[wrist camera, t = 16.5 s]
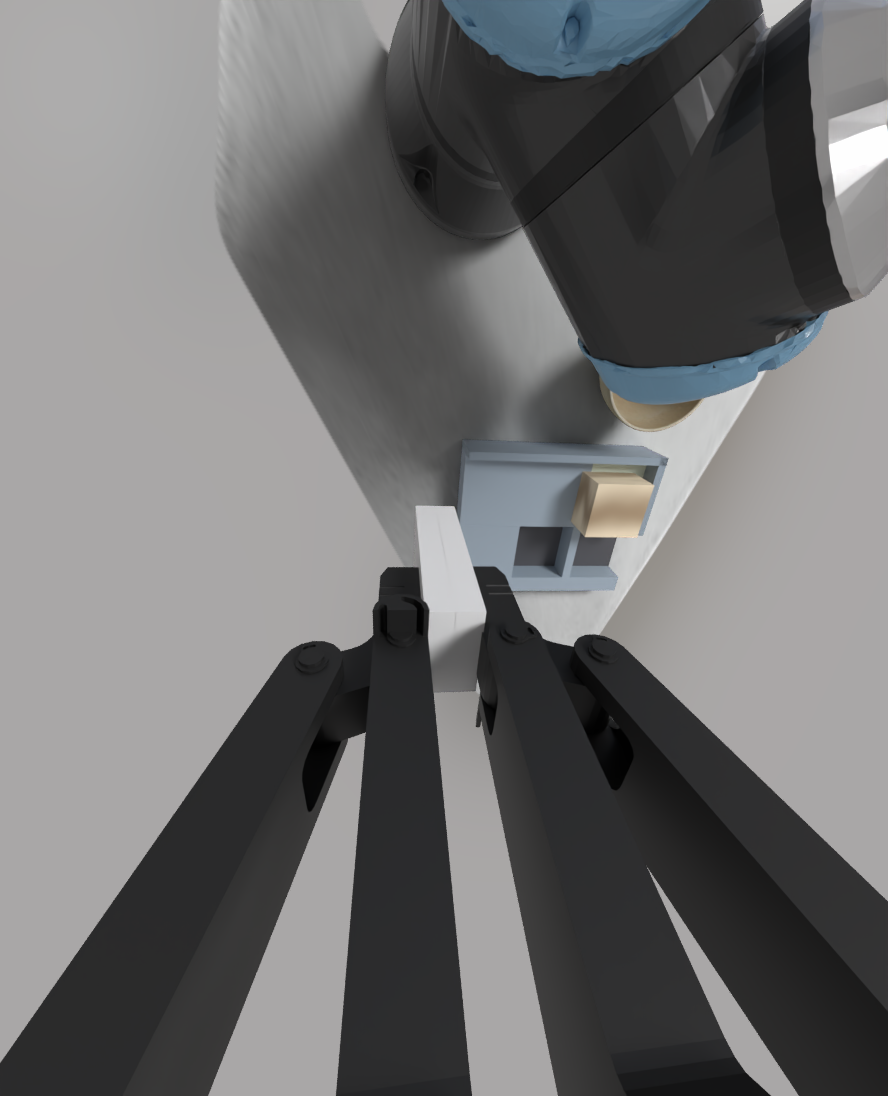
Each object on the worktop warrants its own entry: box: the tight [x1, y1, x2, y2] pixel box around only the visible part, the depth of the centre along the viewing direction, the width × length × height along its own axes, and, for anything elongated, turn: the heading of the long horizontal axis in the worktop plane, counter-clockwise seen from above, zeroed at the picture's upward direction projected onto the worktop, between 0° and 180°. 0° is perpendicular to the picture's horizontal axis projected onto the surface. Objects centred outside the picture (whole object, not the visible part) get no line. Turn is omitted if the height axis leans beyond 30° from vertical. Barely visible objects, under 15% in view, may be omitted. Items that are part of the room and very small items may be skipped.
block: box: [571, 471, 654, 538], centre depth 43 cm, size 6×6×4 cm
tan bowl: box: [599, 375, 705, 432], centre depth 38 cm, size 10×10×7 cm
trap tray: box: [457, 439, 669, 591], centre depth 47 cm, size 18×21×5 cm
